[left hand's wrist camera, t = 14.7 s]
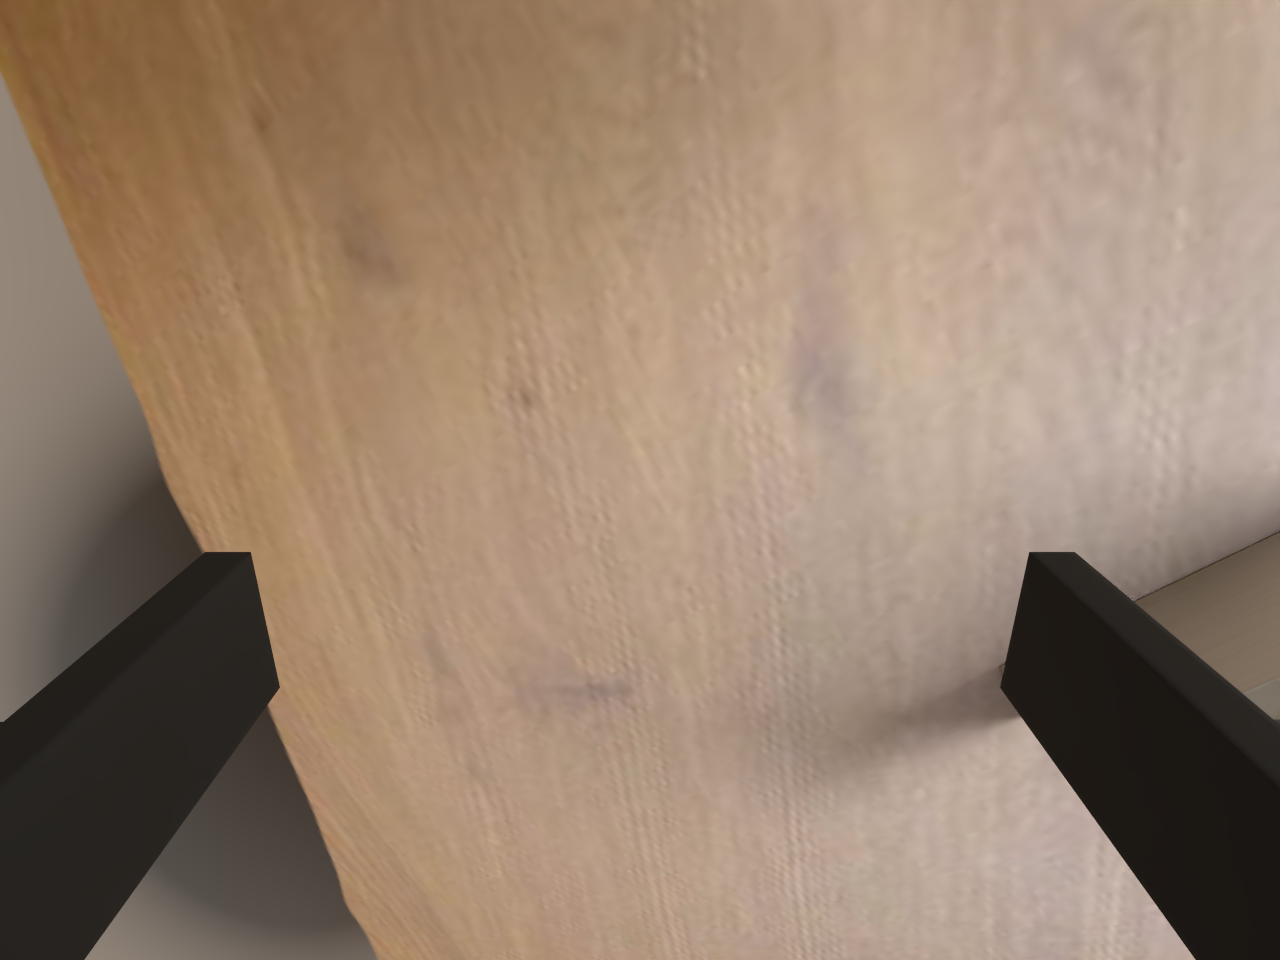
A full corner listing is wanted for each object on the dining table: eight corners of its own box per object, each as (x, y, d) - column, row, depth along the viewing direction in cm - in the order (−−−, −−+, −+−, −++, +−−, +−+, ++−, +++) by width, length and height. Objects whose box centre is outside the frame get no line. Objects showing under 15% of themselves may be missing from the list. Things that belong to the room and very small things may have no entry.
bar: (1423, 462, 41) (1615, 529, 33) (1440, 525, 42) (1628, 605, 34) (997, 666, 46) (1074, 768, 38) (1025, 717, 47) (1105, 826, 39)
